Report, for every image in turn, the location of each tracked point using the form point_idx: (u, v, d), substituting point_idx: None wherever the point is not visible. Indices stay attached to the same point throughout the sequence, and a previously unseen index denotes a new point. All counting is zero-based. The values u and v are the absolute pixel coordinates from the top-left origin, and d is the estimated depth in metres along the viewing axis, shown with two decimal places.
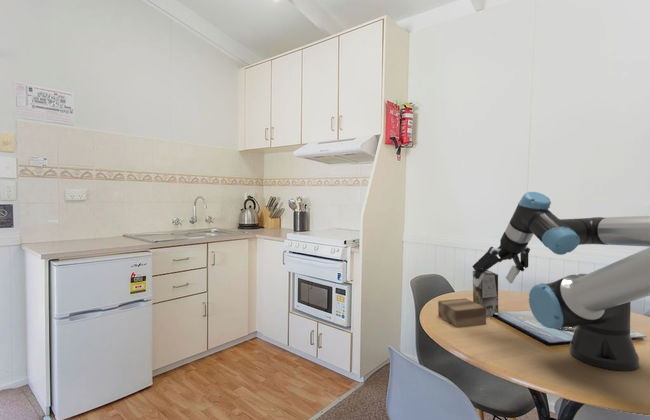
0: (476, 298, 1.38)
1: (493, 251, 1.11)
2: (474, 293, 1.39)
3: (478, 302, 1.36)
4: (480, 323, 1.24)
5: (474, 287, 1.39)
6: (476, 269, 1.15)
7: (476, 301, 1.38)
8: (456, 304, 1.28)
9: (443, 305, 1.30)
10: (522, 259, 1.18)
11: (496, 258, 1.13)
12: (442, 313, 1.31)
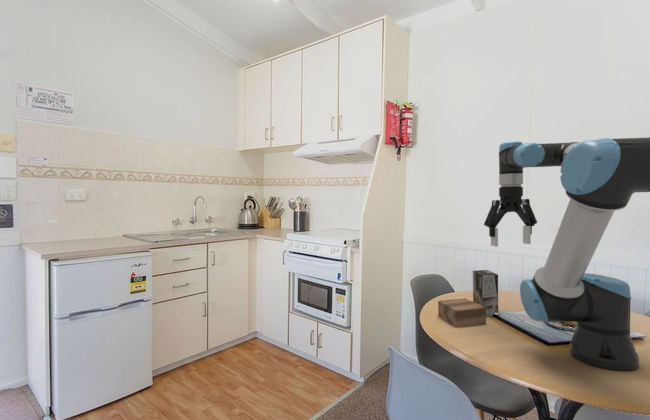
0: (476, 298, 1.38)
1: (495, 201, 1.21)
2: (474, 293, 1.39)
3: (478, 302, 1.36)
4: (480, 323, 1.24)
5: (474, 287, 1.39)
6: (488, 223, 1.21)
7: (476, 301, 1.38)
8: (456, 304, 1.28)
9: (443, 305, 1.30)
10: (528, 215, 1.25)
11: (502, 210, 1.22)
12: (442, 313, 1.31)
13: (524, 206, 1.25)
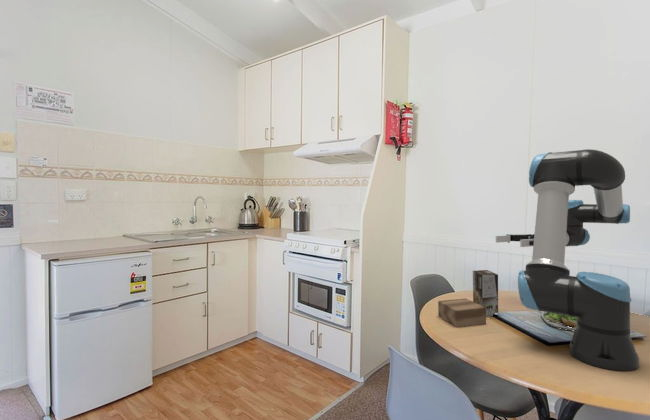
0: (476, 298, 1.38)
1: None
2: (474, 293, 1.39)
3: (478, 302, 1.36)
4: (480, 323, 1.24)
5: (474, 287, 1.39)
6: None
7: (476, 301, 1.38)
8: (456, 304, 1.28)
9: (443, 305, 1.30)
10: None
11: None
12: (442, 313, 1.31)
13: None
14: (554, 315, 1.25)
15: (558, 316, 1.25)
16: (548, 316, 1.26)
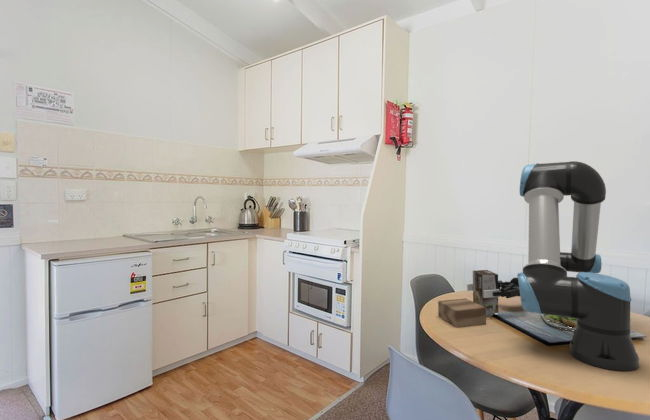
0: (476, 298, 1.38)
1: None
2: (474, 293, 1.39)
3: (478, 302, 1.36)
4: (480, 323, 1.24)
5: (474, 287, 1.39)
6: None
7: (476, 301, 1.37)
8: (456, 304, 1.28)
9: (443, 305, 1.30)
10: None
11: None
12: (442, 313, 1.31)
13: None
14: (554, 315, 1.25)
15: (558, 316, 1.25)
16: (548, 316, 1.26)
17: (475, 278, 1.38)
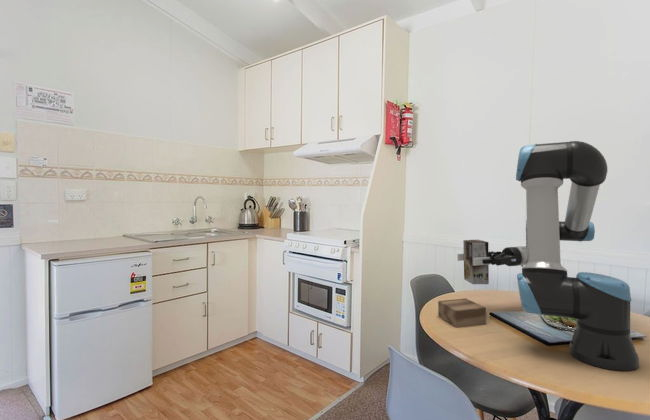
0: (466, 267, 1.35)
1: None
2: (465, 263, 1.37)
3: (468, 271, 1.33)
4: (480, 323, 1.24)
5: (465, 256, 1.37)
6: None
7: (466, 270, 1.35)
8: (456, 304, 1.28)
9: (443, 305, 1.30)
10: None
11: None
12: (442, 313, 1.31)
13: None
14: None
15: None
16: (548, 316, 1.26)
17: (465, 247, 1.36)
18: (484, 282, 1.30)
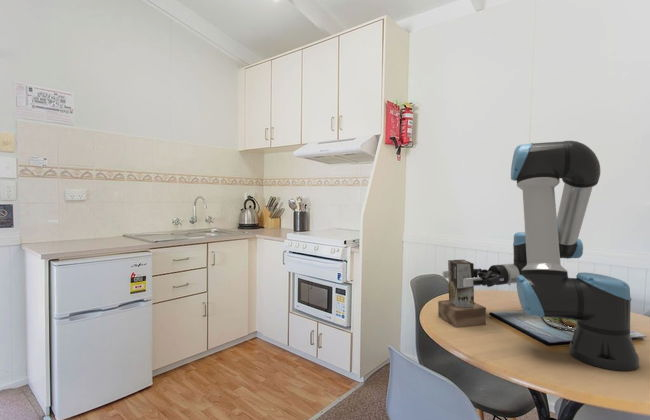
0: (451, 289, 1.30)
1: None
2: (449, 284, 1.31)
3: (453, 293, 1.28)
4: (480, 323, 1.24)
5: (449, 277, 1.31)
6: None
7: (451, 292, 1.30)
8: None
9: (443, 305, 1.30)
10: None
11: None
12: (442, 313, 1.31)
13: None
14: None
15: None
16: None
17: (450, 268, 1.30)
18: (469, 305, 1.24)
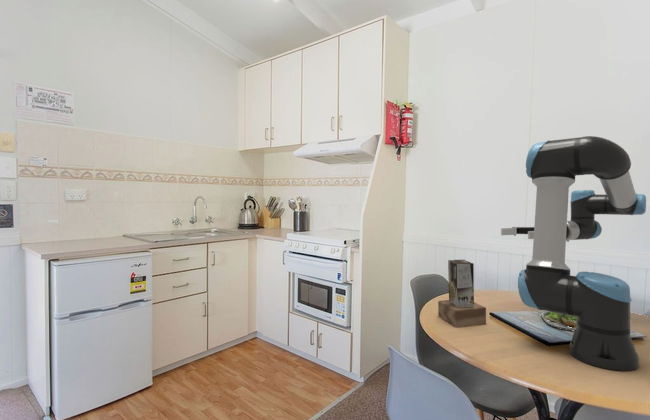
0: (451, 289, 1.30)
1: None
2: (449, 284, 1.31)
3: (453, 293, 1.28)
4: (480, 323, 1.24)
5: (449, 277, 1.31)
6: None
7: (451, 292, 1.30)
8: None
9: (443, 305, 1.30)
10: None
11: None
12: (442, 313, 1.31)
13: None
14: (554, 315, 1.25)
15: (558, 316, 1.25)
16: (548, 316, 1.26)
17: (450, 268, 1.30)
18: (469, 305, 1.24)
